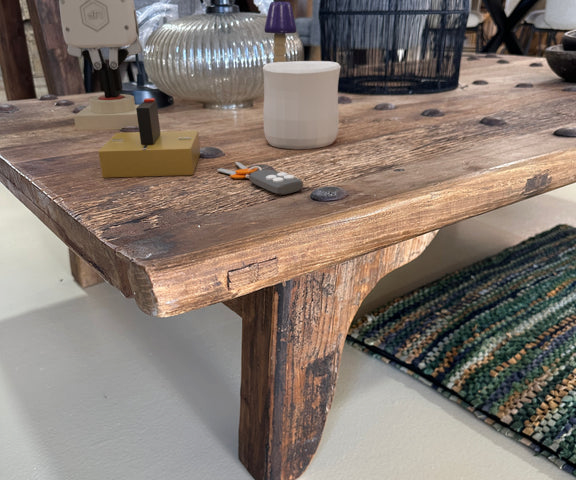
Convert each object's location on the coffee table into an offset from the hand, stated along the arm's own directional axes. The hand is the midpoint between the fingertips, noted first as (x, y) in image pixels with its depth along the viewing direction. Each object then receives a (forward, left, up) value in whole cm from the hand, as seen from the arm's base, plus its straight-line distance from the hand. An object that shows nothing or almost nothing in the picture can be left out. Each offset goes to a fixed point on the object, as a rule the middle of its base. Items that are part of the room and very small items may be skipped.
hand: (112, 95), depth 87 cm
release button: (0, 0, -2) cm, 2 cm away
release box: (0, 0, -4) cm, 4 cm away
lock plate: (+10, -25, -4) cm, 27 cm away
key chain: (+22, -32, -4) cm, 39 cm away
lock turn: (+10, -25, -1) cm, 27 cm away
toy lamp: (+26, -1, -4) cm, 26 cm away
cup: (+28, -15, -4) cm, 32 cm away
